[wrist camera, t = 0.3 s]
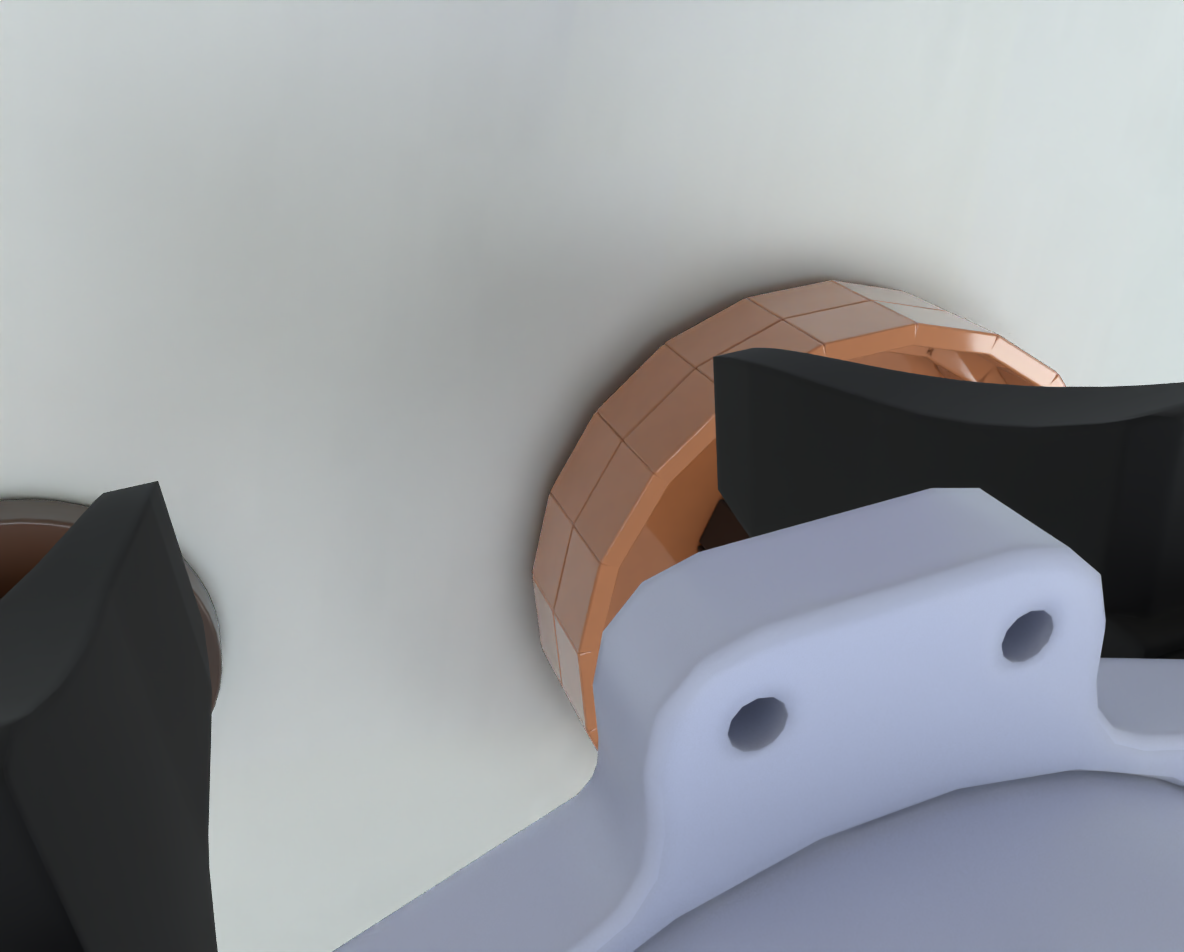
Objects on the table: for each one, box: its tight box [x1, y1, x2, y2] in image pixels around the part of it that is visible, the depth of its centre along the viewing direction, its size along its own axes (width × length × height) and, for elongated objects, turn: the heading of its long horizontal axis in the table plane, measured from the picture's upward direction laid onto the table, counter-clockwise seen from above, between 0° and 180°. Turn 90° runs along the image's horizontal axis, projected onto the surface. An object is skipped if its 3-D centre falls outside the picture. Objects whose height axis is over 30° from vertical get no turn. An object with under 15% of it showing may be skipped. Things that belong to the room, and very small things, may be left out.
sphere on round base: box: [0, 499, 222, 714], centre depth 20 cm, size 8×8×7 cm
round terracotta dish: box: [532, 280, 1066, 751], centre depth 27 cm, size 14×14×4 cm
